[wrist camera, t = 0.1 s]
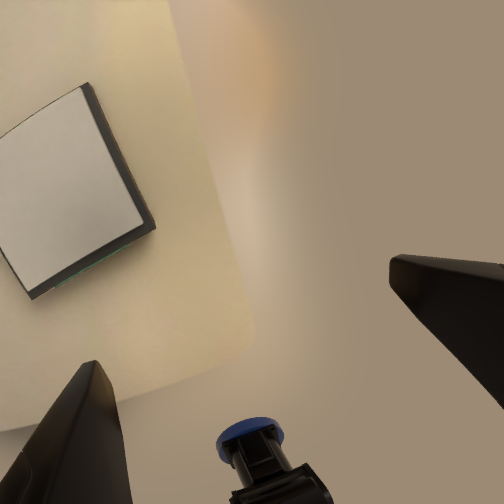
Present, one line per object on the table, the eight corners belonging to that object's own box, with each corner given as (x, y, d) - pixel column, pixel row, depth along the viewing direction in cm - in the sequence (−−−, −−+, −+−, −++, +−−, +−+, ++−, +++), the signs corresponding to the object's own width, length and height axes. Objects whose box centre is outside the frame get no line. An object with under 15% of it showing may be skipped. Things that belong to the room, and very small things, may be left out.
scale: (155, 223, 21) (158, 234, 18) (40, 290, 19) (31, 307, 17) (92, 87, 16) (86, 79, 14) (-26, 167, 15) (-44, 171, 12)
